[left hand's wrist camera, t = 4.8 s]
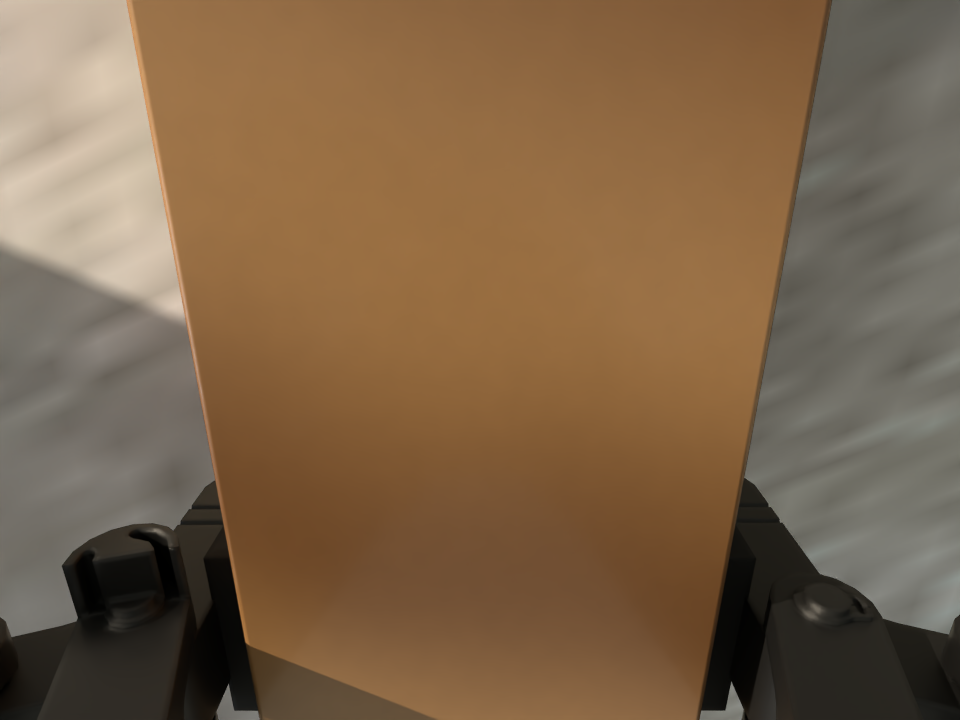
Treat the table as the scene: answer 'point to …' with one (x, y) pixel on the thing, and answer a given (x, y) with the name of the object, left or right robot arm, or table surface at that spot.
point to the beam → (479, 332)
